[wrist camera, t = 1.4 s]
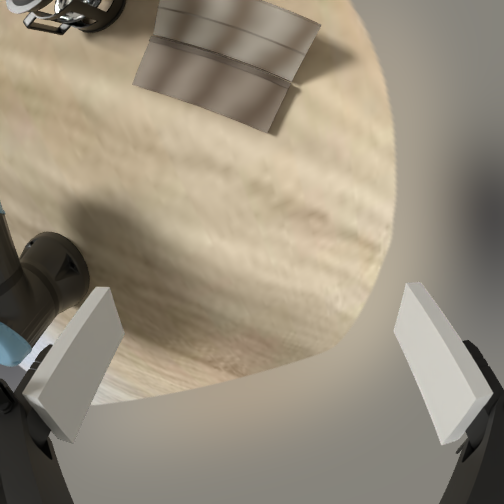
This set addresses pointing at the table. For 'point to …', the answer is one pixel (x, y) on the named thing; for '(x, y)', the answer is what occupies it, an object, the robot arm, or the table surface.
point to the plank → (240, 31)
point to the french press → (67, 14)
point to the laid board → (211, 82)
